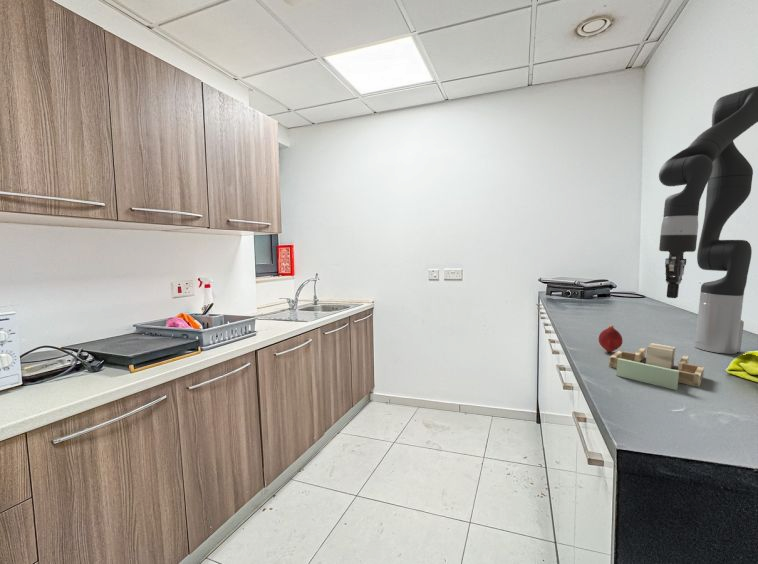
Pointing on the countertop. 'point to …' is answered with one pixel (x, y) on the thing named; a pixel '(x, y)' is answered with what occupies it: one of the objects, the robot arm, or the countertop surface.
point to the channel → (686, 371)
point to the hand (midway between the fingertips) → (672, 297)
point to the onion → (610, 339)
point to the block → (660, 355)
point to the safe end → (648, 373)
